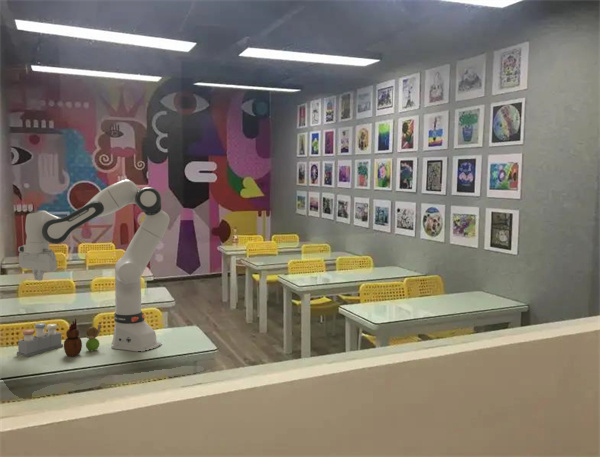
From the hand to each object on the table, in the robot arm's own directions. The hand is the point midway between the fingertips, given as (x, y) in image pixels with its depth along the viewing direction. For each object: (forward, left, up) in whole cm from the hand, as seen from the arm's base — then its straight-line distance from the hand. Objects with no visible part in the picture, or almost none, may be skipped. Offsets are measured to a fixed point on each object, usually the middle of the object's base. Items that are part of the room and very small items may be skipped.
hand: (38, 280), depth 222 cm
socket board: (-4, +2, -30) cm, 30 cm away
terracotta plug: (-4, +8, -28) cm, 29 cm away
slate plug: (-4, +2, -26) cm, 27 cm away
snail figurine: (-23, -9, -30) cm, 39 cm away
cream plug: (-4, -3, -28) cm, 28 cm away
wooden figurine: (-21, 0, -30) cm, 36 cm away
